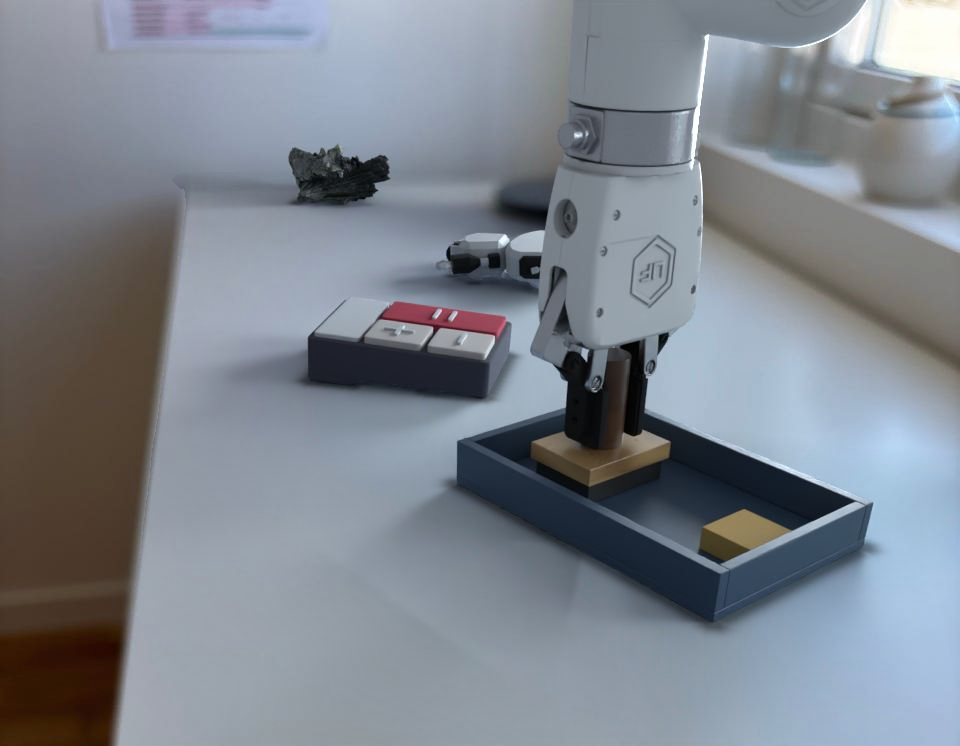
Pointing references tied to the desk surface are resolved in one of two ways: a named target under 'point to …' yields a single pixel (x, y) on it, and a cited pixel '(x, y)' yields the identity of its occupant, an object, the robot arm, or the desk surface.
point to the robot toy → (496, 256)
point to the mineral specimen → (336, 175)
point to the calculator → (410, 347)
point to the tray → (675, 512)
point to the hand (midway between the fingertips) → (603, 433)
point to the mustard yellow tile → (738, 534)
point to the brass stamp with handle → (604, 447)
